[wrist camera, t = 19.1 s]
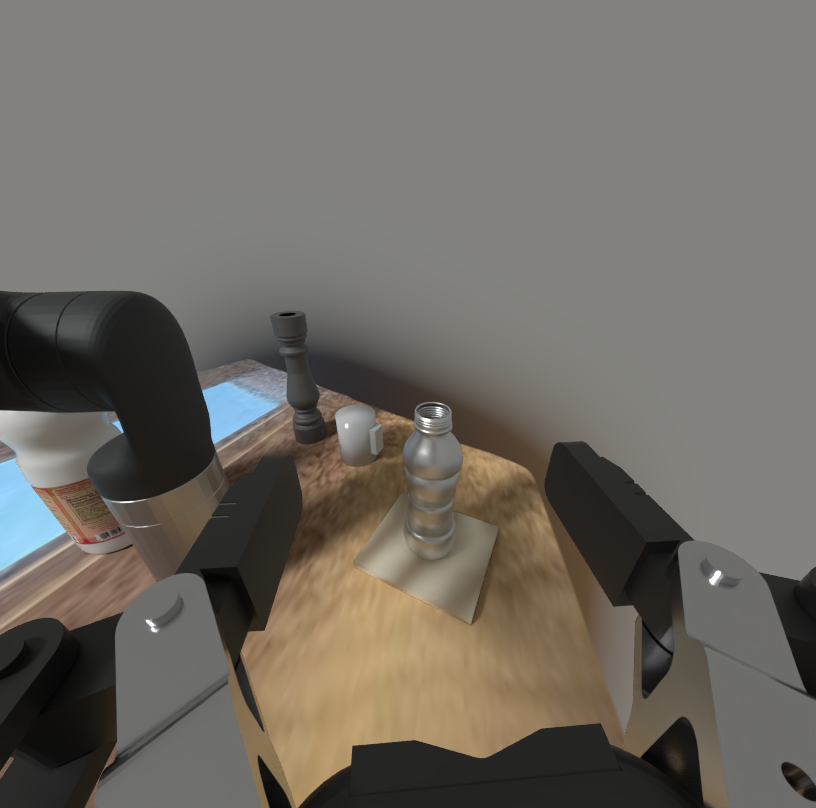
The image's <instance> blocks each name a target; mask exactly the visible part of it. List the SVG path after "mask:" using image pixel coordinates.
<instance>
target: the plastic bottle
mask: <svg viewBox="0 0 816 808" xmlns="http://www.w3.org/2000/svg"><path fill="white" fill-rule="evenodd" d="M451 416H452V413H451V409H450V408H449V407H448V406H446V405H444V404H441V403H436V402H427V403H423V404H420V405H418V406H417V407H416V409H415V420H414V427H415V429H416V430H415V431H414V432H413V433H412V434H411V436H410V437H409V438H408V440H407V441H406V443H405V446H404V449H403V462H404V467H405V473H406V478H407V486H408V508H407V515H406V518H405V523H404V536H405V540H406V543H407V546H408V547H409V549H410V550H411V551H412V552H413V553H414V554H415V555H417V556H419V557H421V558H423V559H426V560H436V559H440V558H442V557H444V556H446V555H447V554H448V553H449V552H450V551H451V549H452V547H453V545H454V542H455V539H456V526H455V520H454V504H453V502H454V495H455V489H456V484H457V480H458V477H459V473H460V469H461V466H462V461H463V453H462V449H461V446H460V444H459V442H458V441H457V439H456V438H455V437H454V435H453V434H452V433H451V432H450V431H451V430H452V421H451Z"/></svg>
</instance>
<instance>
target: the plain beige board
mask: <svg viewBox="0 0 816 808" xmlns="http://www.w3.org/2000/svg"><path fill="white" fill-rule="evenodd" d="M407 508H408V495H407V494H404V493H401V495H400V496H399V498H398V499H397V500H396V502H395V503H394V505H393V506H392V507H391V509H390V510H389V512H388V513H387V514H386V516H385V517H384V519H383V520H382V522H381V523H380V524H379V526H378V527H377V529H376V530H375V531H374V533H373V534H372V536H371V537H370V538H369V540H368V541H367V543H366V544H365V546H364V547H363V548H362V550H361V551H360V553H359V554H358V555H357V557H356V558H355V560H354V561H353V562H354V567H355V568H357V569H359V570H361V571H363V572H365V573H367V574H369V575H371V576H373V577H375V578H377V579H379V580H381V581H383V582H385V583H387V584H389V585H391V586H393V587H395V588H397V589H399V590H401V591H403V592H405V593H407V594H409V595H411V596H413V597H415V598H417V599H419V600H421V601H423V602H425V603H427V604H429V605H431V606H433V607H435V608H437V609H439V610H441V611H443V612H445V613H447V614H449V615H451V616H453V617H455V618H457V619H459V620H461V621H463V622H465V623H467V624H469V625H471V623H472V620H473V616H474V613H475V609H476V606H477V602H478V599H479V596H480V592H481V589H482V585H483V582H484V579H485V575H486V572H487V568H488V565H489V561H490V558H491V555H492V551H493V548H494V544H495V541H496V537H497V534H498V529H499V527H498V526H495V525H492V524H489V523H486V522H483V521H481V520H478V519H475V518H472V517H469V516H466V515H464V514H461V513H458V512H455V511H454V520H455V526H456V539H455V542H454V545H453V547H452V549H451V551H450V552H449V553H448V554H447V555H446V556H444V557H442V558H440V559H436V560H426V559H423V558H421V557H419V556H417V555H415V554H414V553H413V552H412V551H411V550H410V549H409V547H408V546H407V543H406V540H405V536H404V523H405V518H406V515H407Z"/></svg>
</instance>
